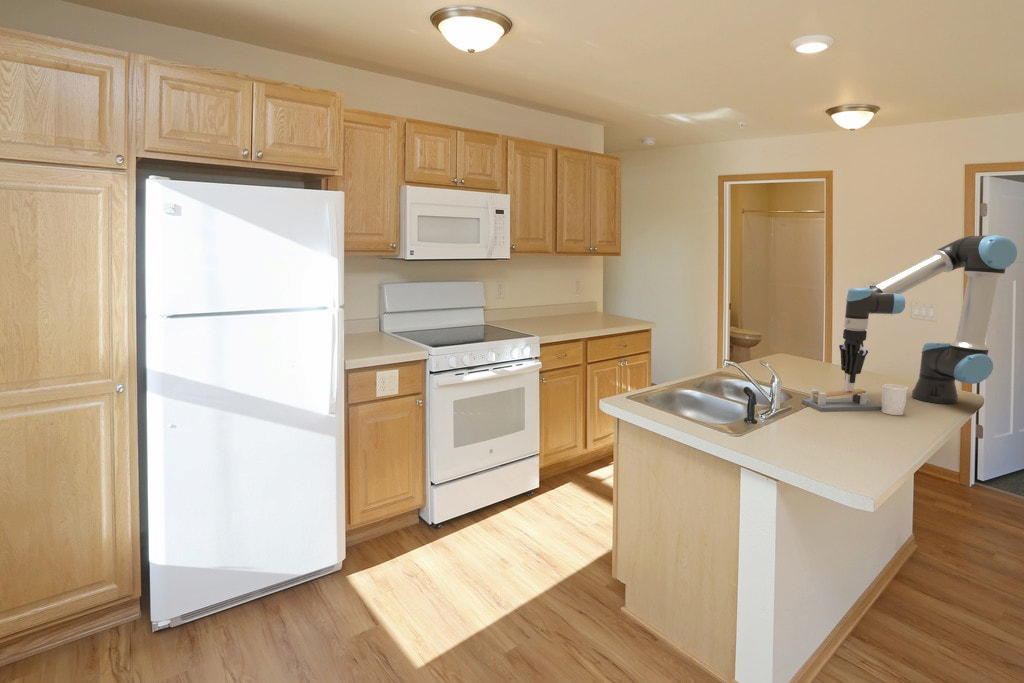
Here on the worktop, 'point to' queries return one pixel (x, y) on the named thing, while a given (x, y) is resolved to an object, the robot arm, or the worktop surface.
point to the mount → (841, 403)
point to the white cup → (893, 399)
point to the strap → (842, 393)
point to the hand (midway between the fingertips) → (848, 390)
